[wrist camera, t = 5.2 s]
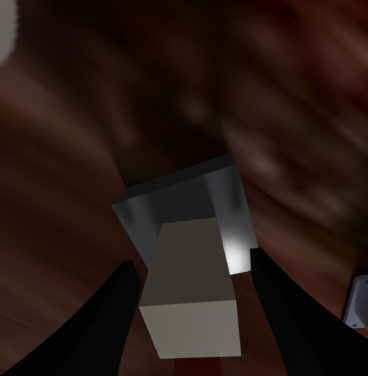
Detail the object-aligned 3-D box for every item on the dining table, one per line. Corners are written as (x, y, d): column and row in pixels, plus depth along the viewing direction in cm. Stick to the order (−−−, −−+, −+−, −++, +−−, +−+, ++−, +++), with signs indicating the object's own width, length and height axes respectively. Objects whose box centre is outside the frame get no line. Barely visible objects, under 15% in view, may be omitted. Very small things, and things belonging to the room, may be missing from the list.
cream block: (216, 217, 12) (235, 299, 7) (221, 259, 14) (241, 355, 8) (162, 223, 13) (138, 306, 7) (172, 264, 14) (160, 358, 9)
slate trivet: (228, 153, 14) (237, 164, 11) (252, 242, 17) (263, 267, 14) (125, 188, 15) (111, 204, 12) (165, 263, 18) (160, 289, 16)
